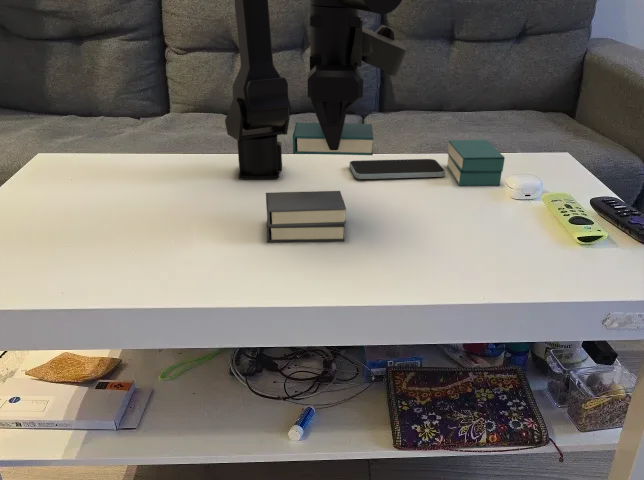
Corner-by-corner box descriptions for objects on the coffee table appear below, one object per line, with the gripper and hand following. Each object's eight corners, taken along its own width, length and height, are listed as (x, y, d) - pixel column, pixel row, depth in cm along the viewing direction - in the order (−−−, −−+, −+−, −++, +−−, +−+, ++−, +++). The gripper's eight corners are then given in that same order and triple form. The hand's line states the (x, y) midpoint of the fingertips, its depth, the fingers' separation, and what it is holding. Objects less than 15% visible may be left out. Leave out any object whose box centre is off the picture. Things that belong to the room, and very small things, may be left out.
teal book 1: (293, 153, 84) (292, 135, 82) (296, 139, 89) (296, 122, 88) (372, 155, 84) (373, 137, 82) (371, 141, 89) (372, 123, 88)
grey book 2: (267, 242, 86) (266, 225, 85) (268, 223, 92) (267, 207, 90) (344, 241, 87) (344, 225, 86) (341, 222, 92) (341, 207, 91)
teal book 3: (499, 185, 106) (501, 171, 105) (459, 185, 106) (460, 172, 104) (484, 166, 114) (486, 153, 113) (446, 166, 114) (448, 153, 112)
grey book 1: (267, 226, 85) (267, 210, 84) (266, 208, 90) (265, 192, 89) (345, 224, 86) (346, 207, 85) (339, 206, 91) (340, 190, 90)
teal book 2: (502, 171, 105) (504, 157, 104) (462, 172, 104) (463, 158, 103) (484, 153, 113) (486, 139, 112) (447, 153, 112) (448, 140, 111)
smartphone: (447, 172, 108) (356, 174, 106) (446, 177, 109) (356, 180, 107) (434, 158, 114) (348, 160, 112) (433, 163, 115) (348, 166, 113)
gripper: (413, 15, 70) (402, 165, 79) (396, -3, 85) (389, 124, 94) (306, 14, 69) (308, 164, 78) (309, -4, 85) (310, 123, 94)
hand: (333, 142), depth 86 cm, fingers closed on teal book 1, 6 cm apart
